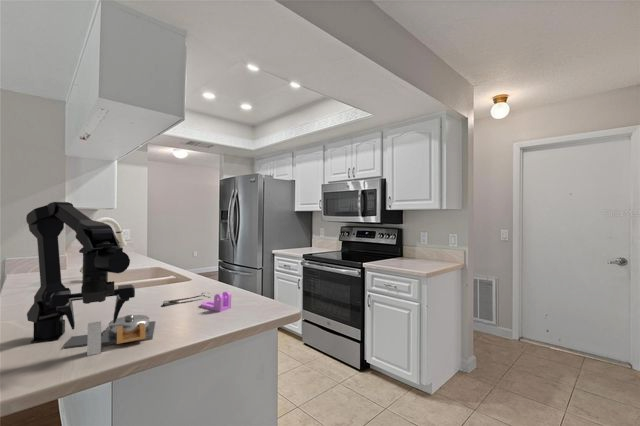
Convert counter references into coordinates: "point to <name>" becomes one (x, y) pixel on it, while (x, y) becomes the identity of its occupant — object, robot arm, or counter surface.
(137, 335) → the oval metal lid
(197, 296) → the hacksaw
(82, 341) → the mat
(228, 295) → the bracket
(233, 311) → the counter surface
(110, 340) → the base plate
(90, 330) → the gray rectangular block
